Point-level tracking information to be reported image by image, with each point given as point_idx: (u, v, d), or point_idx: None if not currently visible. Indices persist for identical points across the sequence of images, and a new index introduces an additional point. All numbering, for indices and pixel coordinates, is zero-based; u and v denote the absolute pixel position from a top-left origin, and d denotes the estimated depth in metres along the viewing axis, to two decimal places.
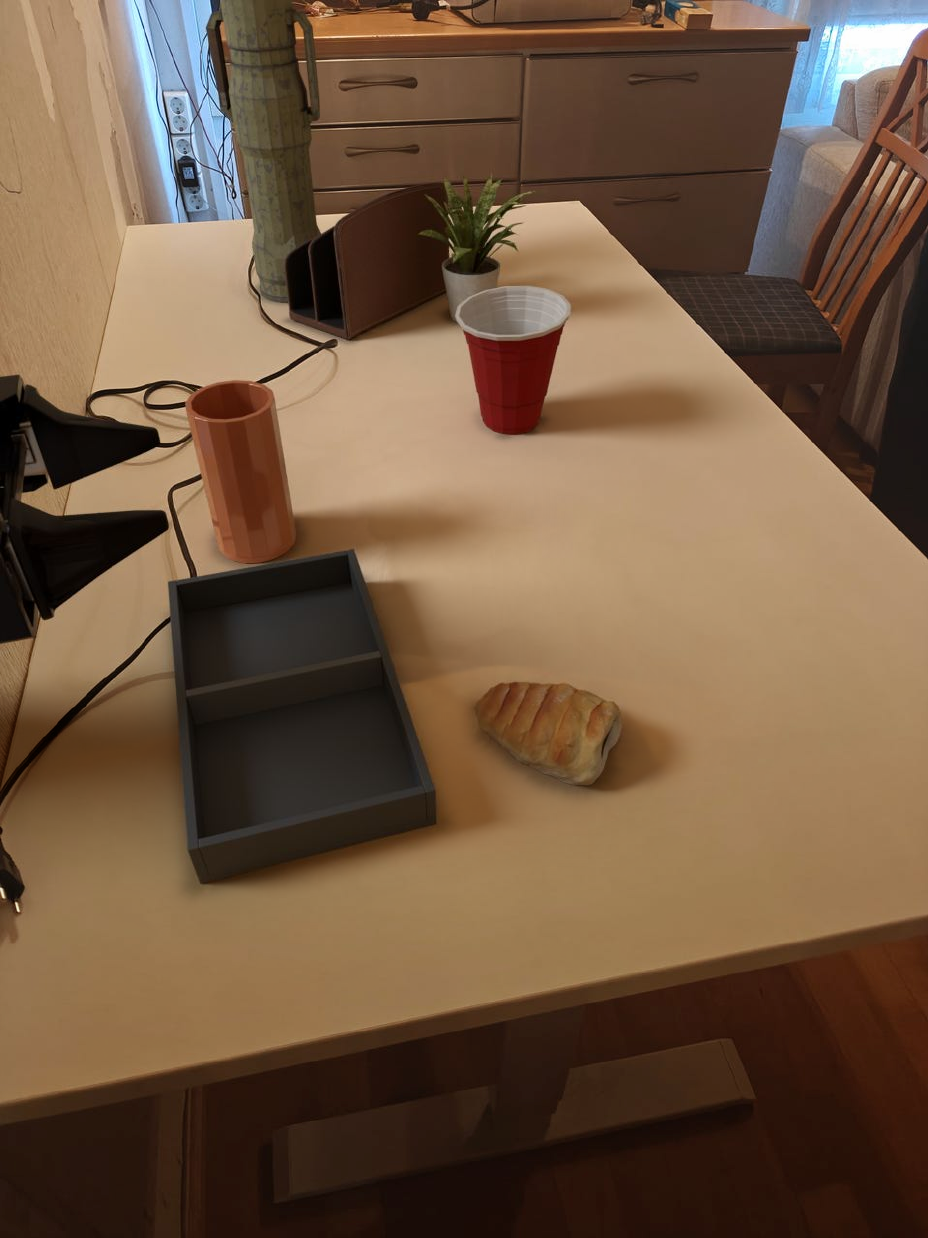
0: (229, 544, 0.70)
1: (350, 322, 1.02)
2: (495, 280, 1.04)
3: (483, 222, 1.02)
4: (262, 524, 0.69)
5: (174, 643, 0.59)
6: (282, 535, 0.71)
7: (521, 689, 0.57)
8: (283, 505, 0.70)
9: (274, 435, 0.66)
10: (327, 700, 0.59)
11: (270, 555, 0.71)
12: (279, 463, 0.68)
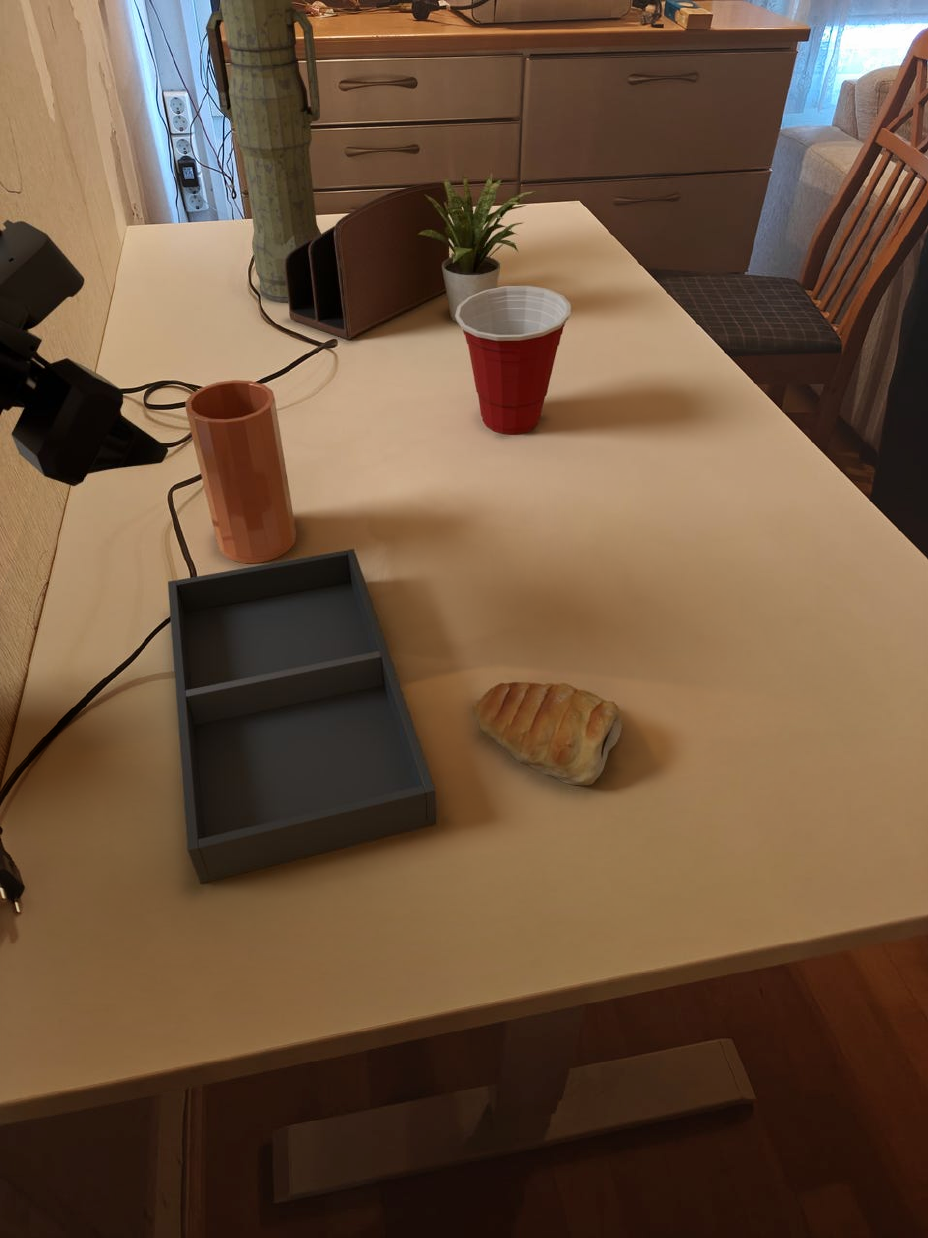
0: (229, 544, 0.70)
1: (350, 322, 1.02)
2: (495, 280, 1.04)
3: (483, 222, 1.02)
4: (262, 524, 0.69)
5: (174, 643, 0.59)
6: (282, 535, 0.71)
7: (521, 689, 0.57)
8: (283, 505, 0.70)
9: (274, 435, 0.66)
10: (327, 700, 0.59)
11: (270, 555, 0.71)
12: (279, 463, 0.68)
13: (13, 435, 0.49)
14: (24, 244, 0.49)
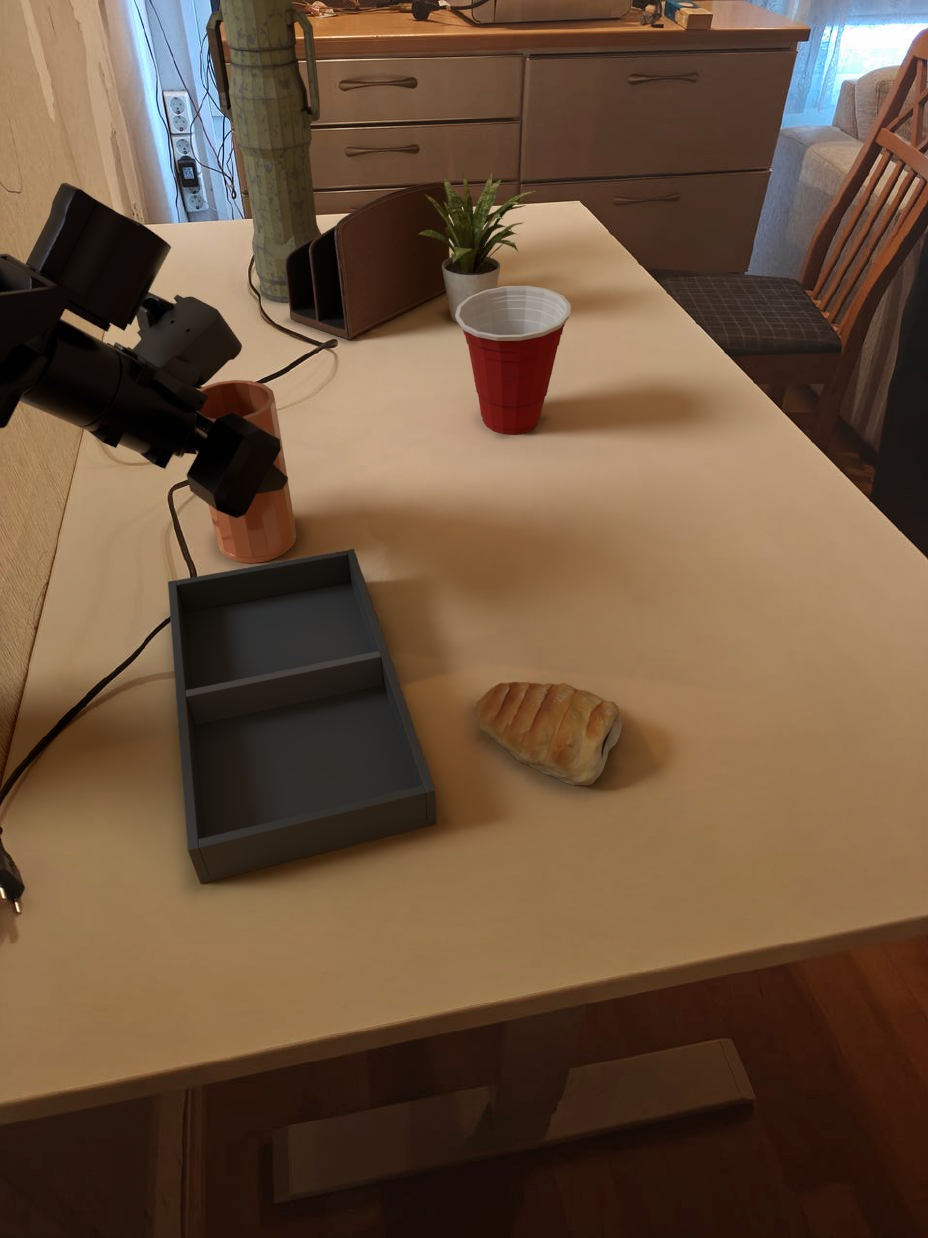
0: (229, 544, 0.71)
1: (351, 322, 1.02)
2: (495, 280, 1.04)
3: (483, 222, 1.02)
4: (262, 524, 0.69)
5: (174, 643, 0.59)
6: (282, 535, 0.71)
7: (521, 689, 0.57)
8: (283, 505, 0.70)
9: (274, 435, 0.66)
10: (327, 700, 0.59)
11: (270, 555, 0.71)
12: (279, 463, 0.68)
13: (188, 476, 0.59)
14: (197, 317, 0.59)
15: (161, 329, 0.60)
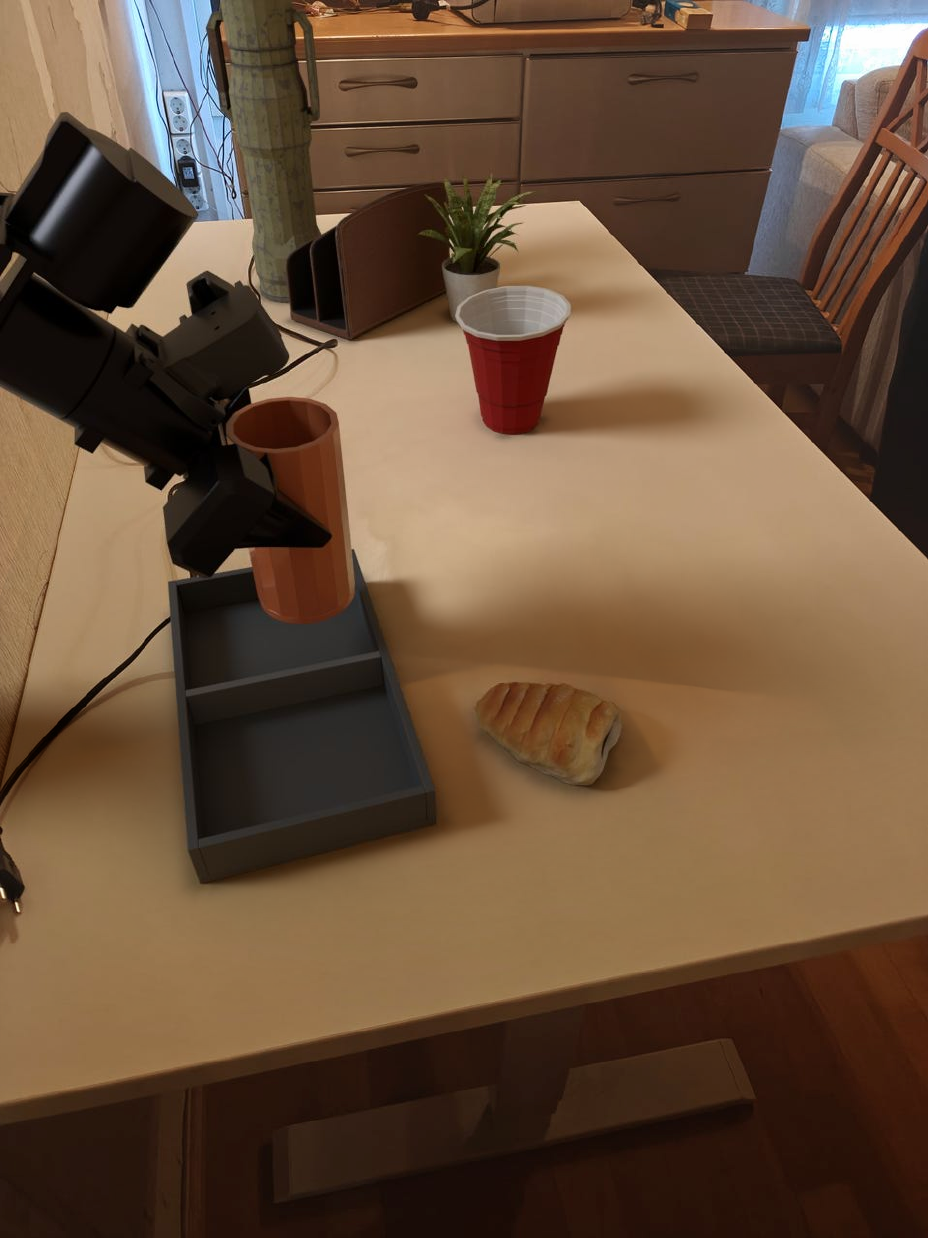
0: (260, 591, 0.57)
1: (351, 322, 1.02)
2: (495, 280, 1.04)
3: (483, 222, 1.02)
4: (294, 581, 0.55)
5: (174, 643, 0.59)
6: (322, 599, 0.56)
7: (521, 689, 0.57)
8: (328, 565, 0.55)
9: (322, 480, 0.51)
10: (327, 700, 0.59)
11: (303, 619, 0.57)
12: (327, 514, 0.52)
13: (163, 509, 0.46)
14: (235, 314, 0.45)
15: (198, 320, 0.47)
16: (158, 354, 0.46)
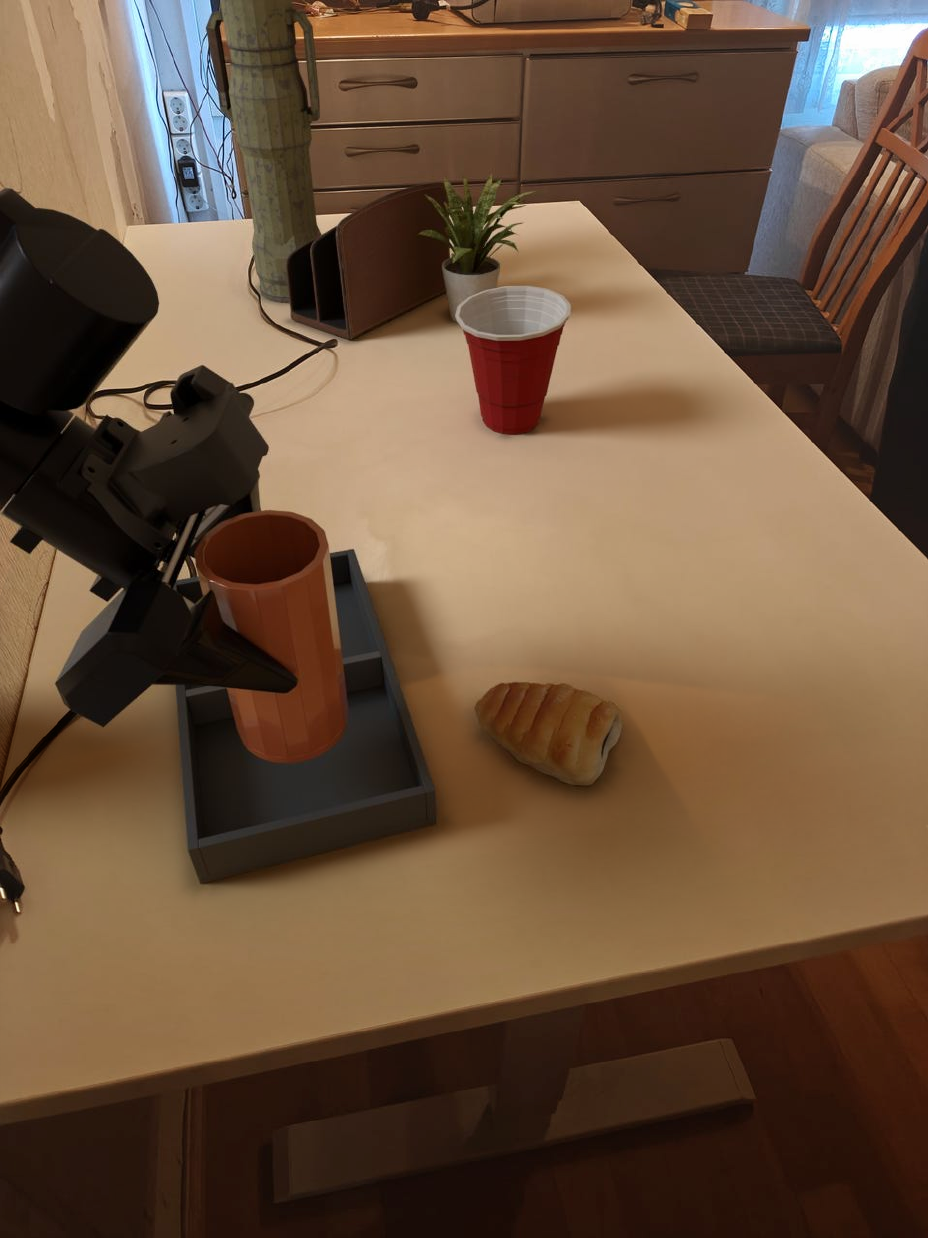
0: None
1: (352, 322, 1.02)
2: (495, 280, 1.04)
3: (483, 222, 1.02)
4: (258, 718, 0.47)
5: None
6: (290, 742, 0.48)
7: (521, 689, 0.57)
8: (298, 710, 0.47)
9: (288, 623, 0.43)
10: None
11: (270, 756, 0.49)
12: (296, 659, 0.44)
13: (80, 634, 0.40)
14: (197, 429, 0.38)
15: (170, 424, 0.40)
16: (115, 458, 0.40)
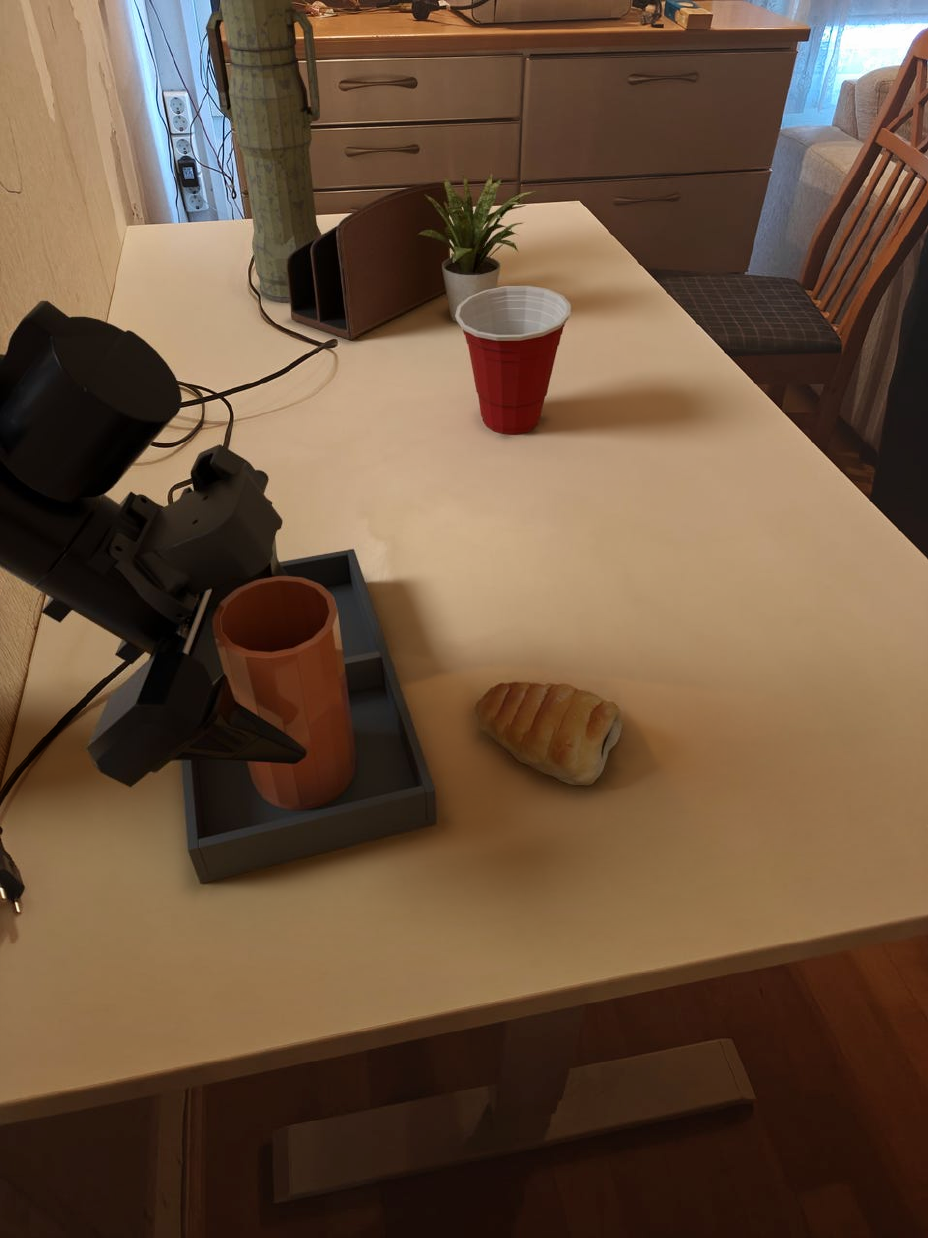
0: None
1: (352, 322, 1.02)
2: (495, 280, 1.04)
3: (483, 222, 1.02)
4: (272, 770, 0.50)
5: None
6: (302, 791, 0.51)
7: (521, 689, 0.57)
8: (310, 762, 0.50)
9: (301, 685, 0.46)
10: None
11: (283, 804, 0.52)
12: (308, 717, 0.47)
13: (108, 699, 0.43)
14: (216, 510, 0.41)
15: (191, 502, 0.43)
16: (140, 534, 0.43)
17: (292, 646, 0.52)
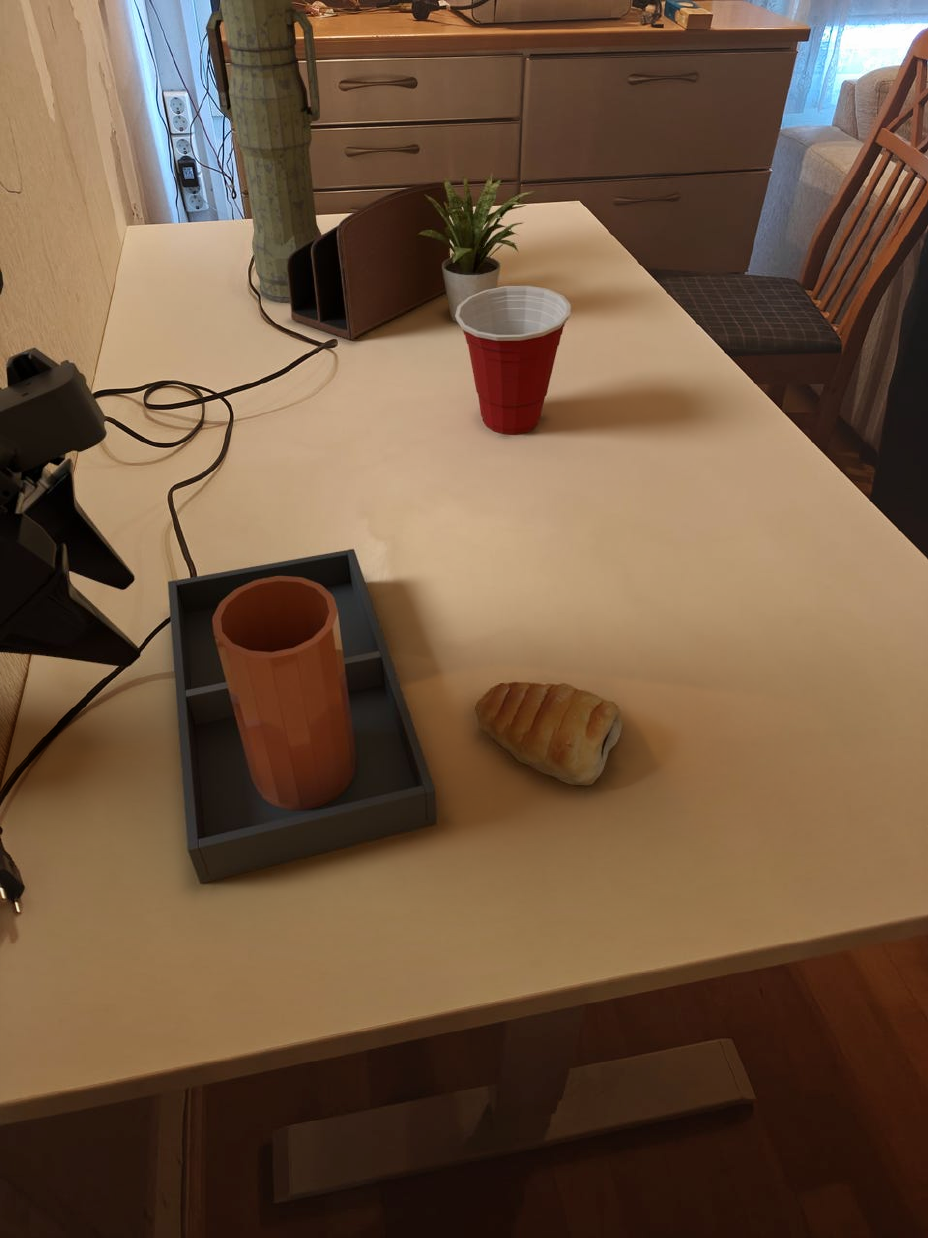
0: None
1: (353, 322, 1.02)
2: (495, 280, 1.04)
3: (483, 222, 1.02)
4: (272, 770, 0.50)
5: (174, 643, 0.59)
6: (302, 791, 0.51)
7: (521, 689, 0.57)
8: (310, 762, 0.50)
9: (301, 685, 0.46)
10: None
11: (283, 804, 0.52)
12: (308, 717, 0.47)
13: None
14: (49, 383, 0.42)
15: (10, 390, 0.43)
16: None
17: (292, 646, 0.52)
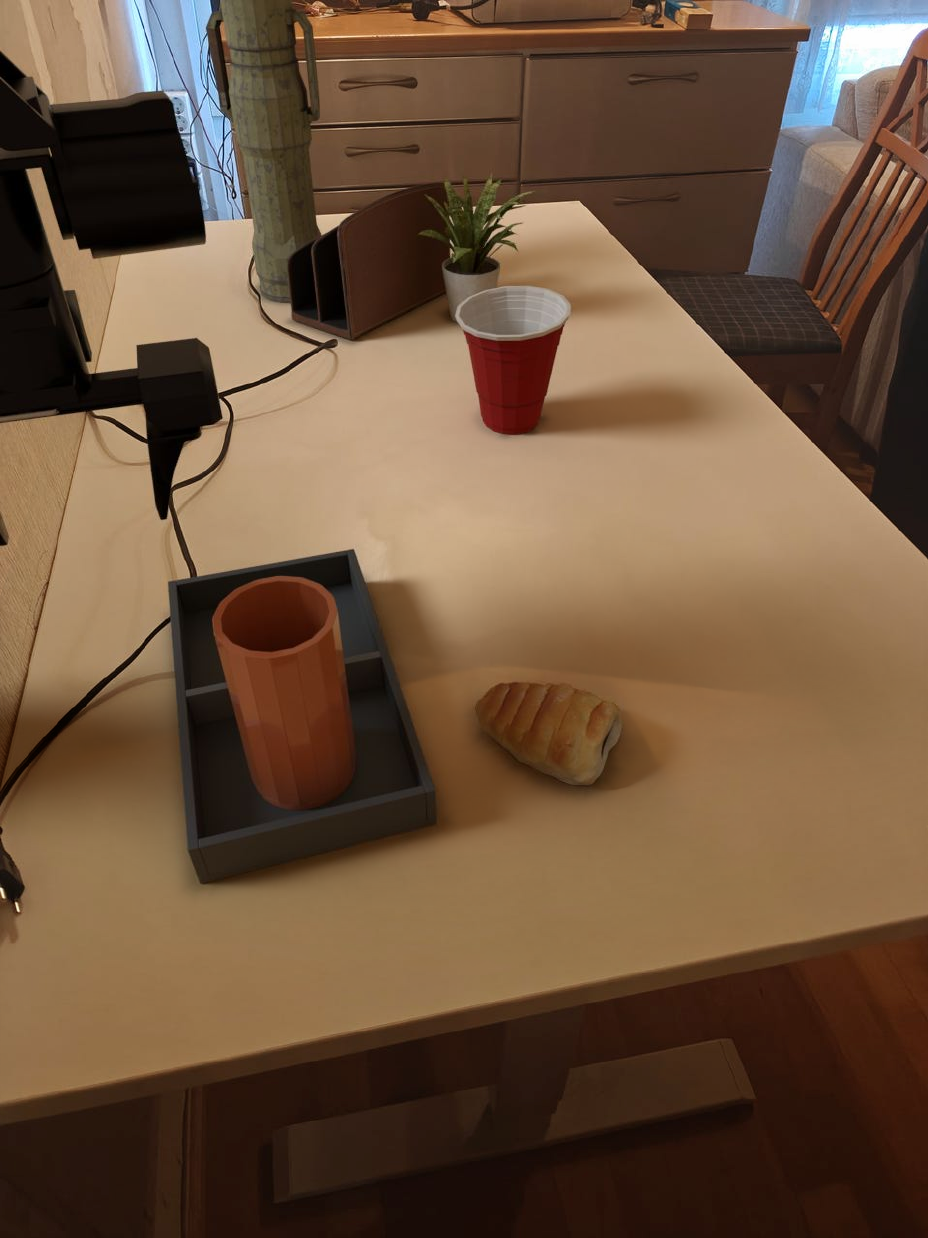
0: None
1: (353, 322, 1.02)
2: (495, 280, 1.04)
3: (483, 222, 1.02)
4: (272, 770, 0.50)
5: (174, 643, 0.59)
6: (302, 791, 0.51)
7: (521, 689, 0.57)
8: (310, 762, 0.50)
9: (301, 685, 0.46)
10: None
11: (283, 804, 0.52)
12: (308, 717, 0.47)
13: (142, 378, 0.46)
14: None
15: None
16: None
17: (292, 646, 0.52)
